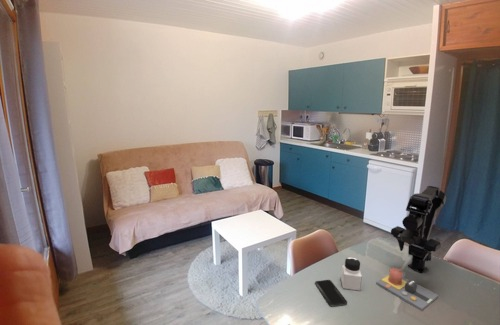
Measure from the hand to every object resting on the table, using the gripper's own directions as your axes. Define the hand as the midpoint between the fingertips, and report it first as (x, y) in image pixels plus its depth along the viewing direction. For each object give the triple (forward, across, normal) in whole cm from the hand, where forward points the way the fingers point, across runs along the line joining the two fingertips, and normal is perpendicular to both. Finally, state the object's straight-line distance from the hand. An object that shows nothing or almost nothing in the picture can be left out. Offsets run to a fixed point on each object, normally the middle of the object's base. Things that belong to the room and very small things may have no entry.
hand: (411, 255), depth 120 cm
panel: (+12, +4, -9) cm, 15 cm away
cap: (+11, -1, -9) cm, 14 cm away
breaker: (+11, +5, -9) cm, 15 cm away
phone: (+13, -13, -38) cm, 42 cm away
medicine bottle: (+12, -12, -26) cm, 31 cm away
